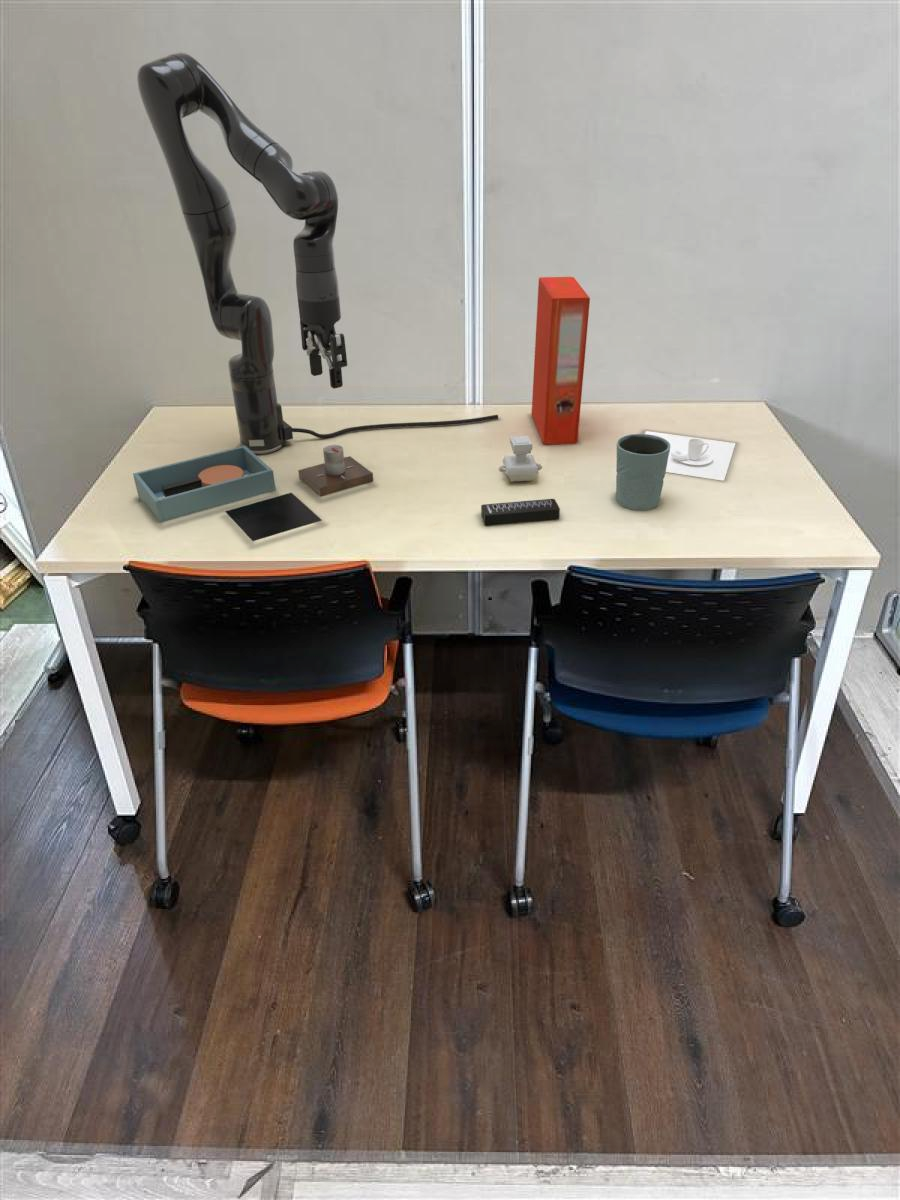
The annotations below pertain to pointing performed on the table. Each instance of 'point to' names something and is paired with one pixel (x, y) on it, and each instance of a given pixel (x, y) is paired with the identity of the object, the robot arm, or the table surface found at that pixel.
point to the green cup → (640, 470)
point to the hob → (272, 516)
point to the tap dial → (334, 460)
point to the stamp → (520, 461)
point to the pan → (204, 479)
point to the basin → (209, 495)
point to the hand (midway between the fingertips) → (326, 380)
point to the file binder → (559, 358)
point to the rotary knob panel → (335, 477)
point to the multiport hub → (520, 512)
